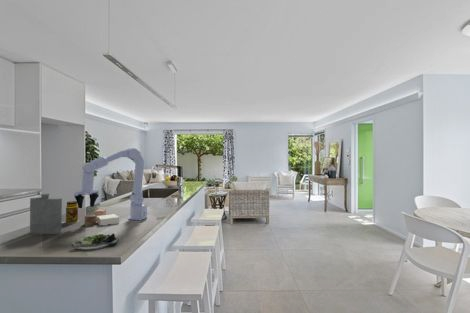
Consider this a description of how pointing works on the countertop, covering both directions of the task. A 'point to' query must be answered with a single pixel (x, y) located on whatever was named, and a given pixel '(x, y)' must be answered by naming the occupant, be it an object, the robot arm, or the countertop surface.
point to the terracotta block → (100, 212)
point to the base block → (107, 219)
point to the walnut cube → (90, 220)
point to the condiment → (71, 212)
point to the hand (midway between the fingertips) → (86, 207)
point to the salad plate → (95, 242)
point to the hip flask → (45, 215)
